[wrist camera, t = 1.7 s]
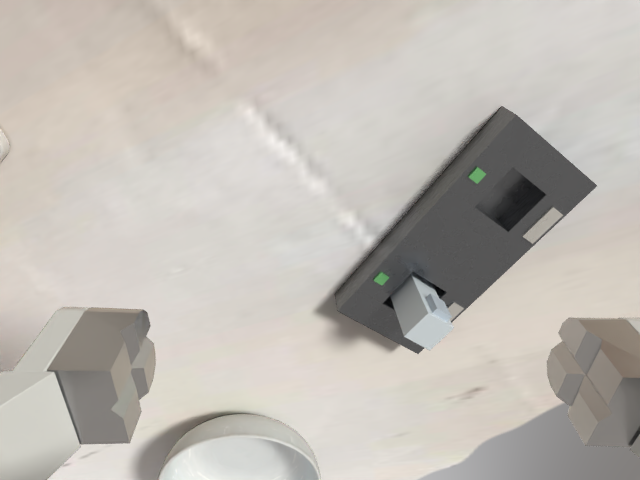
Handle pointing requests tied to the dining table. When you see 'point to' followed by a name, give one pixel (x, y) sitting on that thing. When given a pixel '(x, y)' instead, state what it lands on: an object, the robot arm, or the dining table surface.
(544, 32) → the dining table surface
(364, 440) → the dining table surface
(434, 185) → the panel
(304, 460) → the serving bowl
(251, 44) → the dining table surface
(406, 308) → the plug
